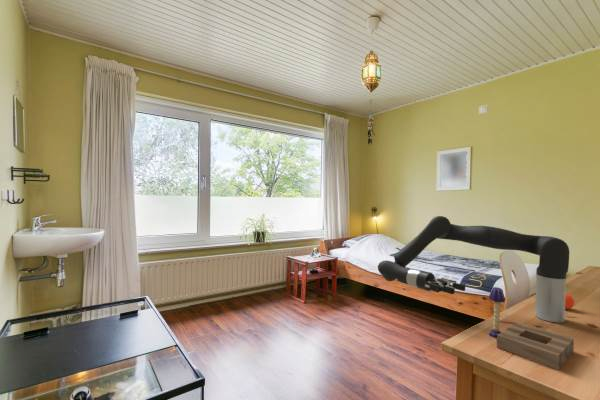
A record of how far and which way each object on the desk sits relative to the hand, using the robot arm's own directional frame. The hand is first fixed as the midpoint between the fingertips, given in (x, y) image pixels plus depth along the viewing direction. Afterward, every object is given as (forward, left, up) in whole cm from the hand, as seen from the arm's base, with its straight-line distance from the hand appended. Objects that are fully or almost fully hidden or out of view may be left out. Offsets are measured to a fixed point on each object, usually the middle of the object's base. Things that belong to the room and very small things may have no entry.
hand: (459, 289), depth 112 cm
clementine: (-60, +18, -13) cm, 64 cm away
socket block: (0, +23, -13) cm, 27 cm away
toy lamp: (0, +12, -13) cm, 18 cm away
